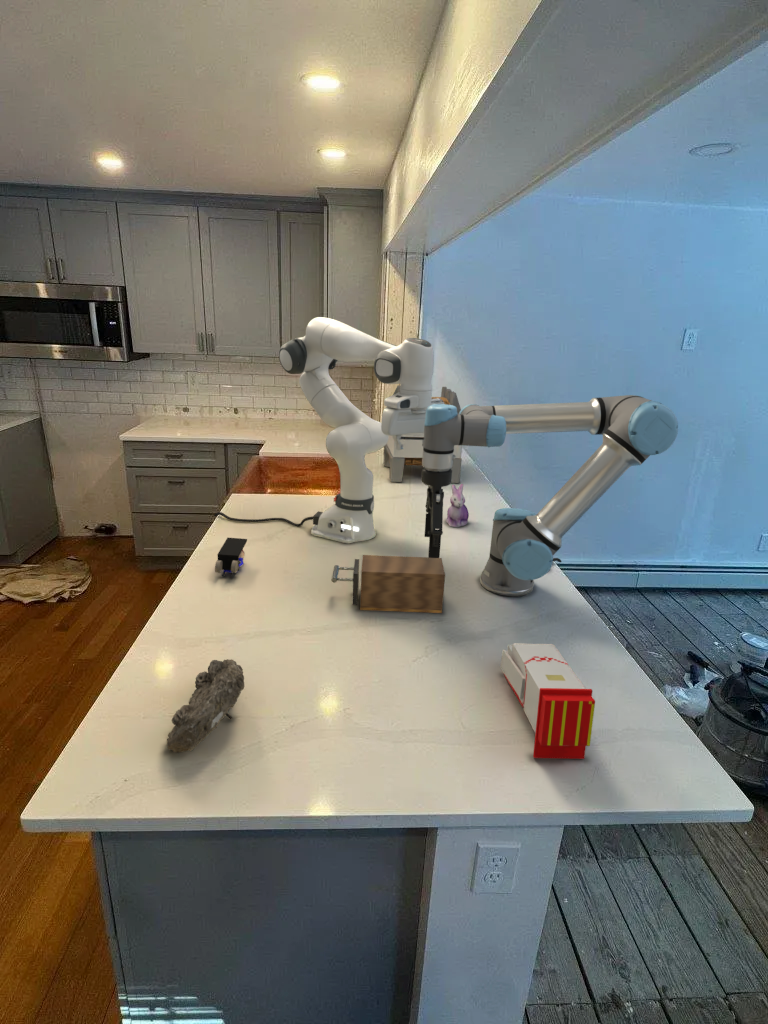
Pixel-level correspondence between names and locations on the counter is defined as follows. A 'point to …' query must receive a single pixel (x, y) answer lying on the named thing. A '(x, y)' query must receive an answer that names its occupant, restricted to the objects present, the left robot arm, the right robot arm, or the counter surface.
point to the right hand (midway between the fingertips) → (431, 546)
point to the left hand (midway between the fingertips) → (412, 448)
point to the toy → (550, 699)
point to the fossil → (206, 705)
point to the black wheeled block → (230, 556)
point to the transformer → (419, 446)
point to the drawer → (354, 579)
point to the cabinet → (402, 584)
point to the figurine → (457, 508)
